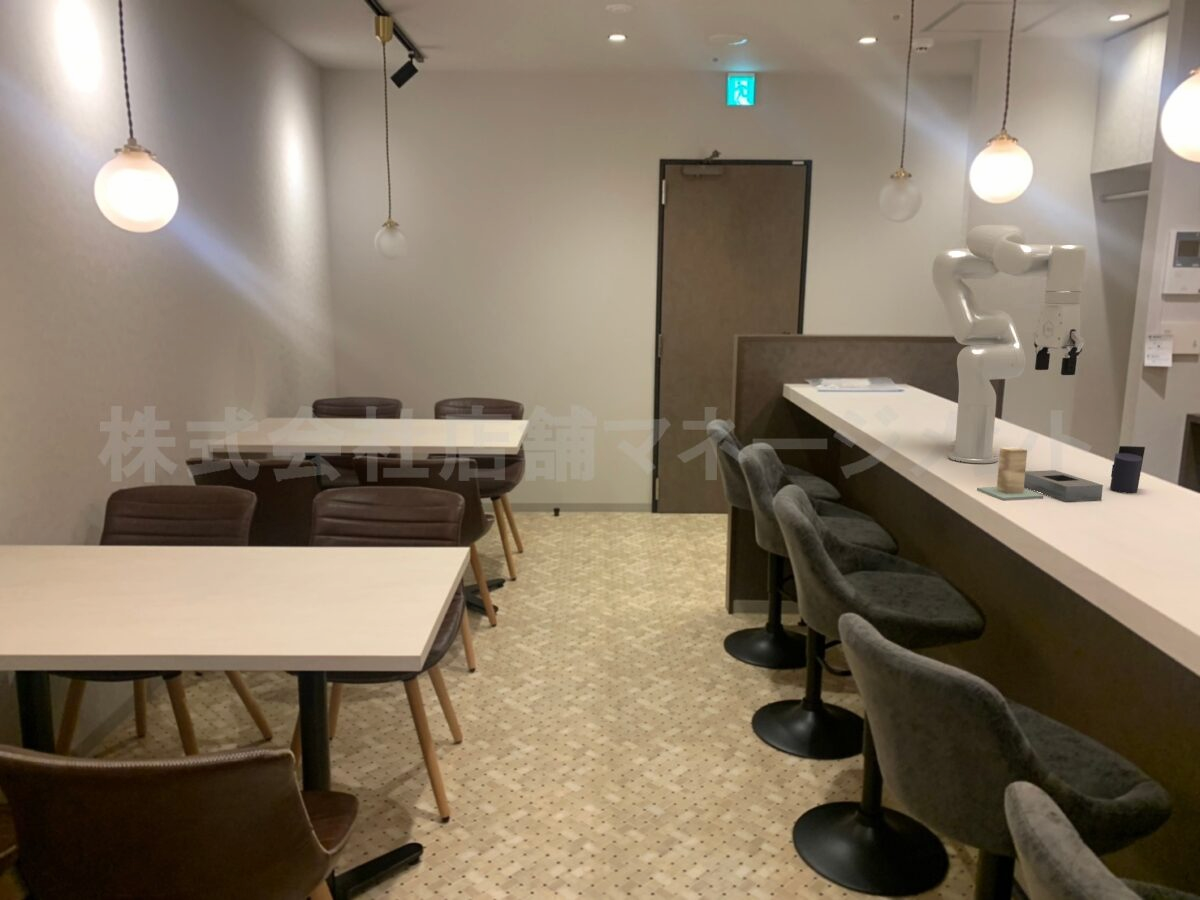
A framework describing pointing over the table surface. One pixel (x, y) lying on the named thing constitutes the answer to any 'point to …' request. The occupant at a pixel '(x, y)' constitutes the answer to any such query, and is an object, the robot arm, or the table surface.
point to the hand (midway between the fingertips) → (1054, 372)
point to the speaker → (1127, 469)
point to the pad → (1004, 496)
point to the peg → (1011, 470)
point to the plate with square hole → (1063, 486)
